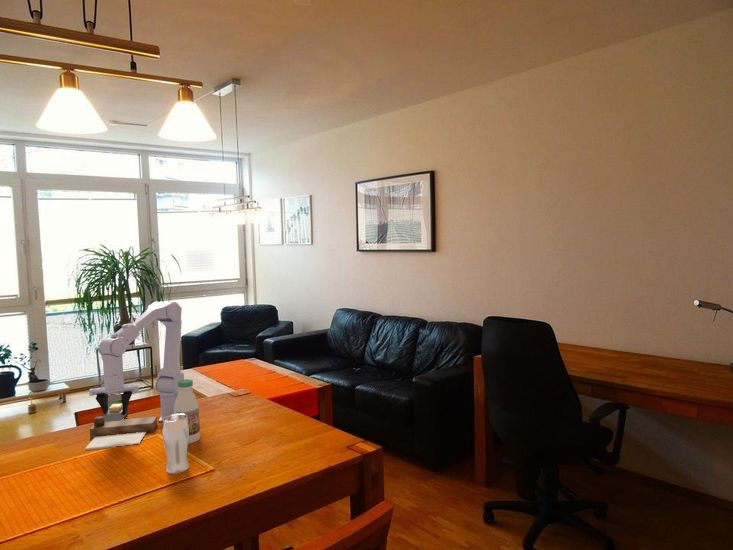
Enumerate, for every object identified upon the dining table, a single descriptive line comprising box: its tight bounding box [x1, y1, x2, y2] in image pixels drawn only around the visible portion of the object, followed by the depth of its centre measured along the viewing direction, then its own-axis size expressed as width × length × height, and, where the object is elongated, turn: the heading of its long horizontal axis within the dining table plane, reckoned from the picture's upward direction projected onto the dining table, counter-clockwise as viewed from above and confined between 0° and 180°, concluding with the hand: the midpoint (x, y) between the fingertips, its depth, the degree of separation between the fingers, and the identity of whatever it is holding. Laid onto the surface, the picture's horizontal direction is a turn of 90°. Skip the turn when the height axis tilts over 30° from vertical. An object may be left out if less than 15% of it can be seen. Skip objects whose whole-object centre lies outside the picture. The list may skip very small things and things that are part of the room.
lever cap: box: [103, 403, 127, 422], centre depth 161 cm, size 5×7×4 cm
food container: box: [108, 393, 129, 418], centre depth 183 cm, size 12×6×10 cm, turn 62°
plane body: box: [89, 415, 158, 438], centre depth 170 cm, size 20×7×6 cm, turn 103°
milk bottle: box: [174, 378, 201, 445], centre depth 160 cm, size 8×8×20 cm
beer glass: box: [162, 414, 190, 475], centre depth 138 cm, size 7×7×15 cm
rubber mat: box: [84, 432, 147, 451], centre depth 161 cm, size 16×10×1 cm, turn 103°
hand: (115, 414), depth 160 cm, fingers closed on lever cap, 5 cm apart
